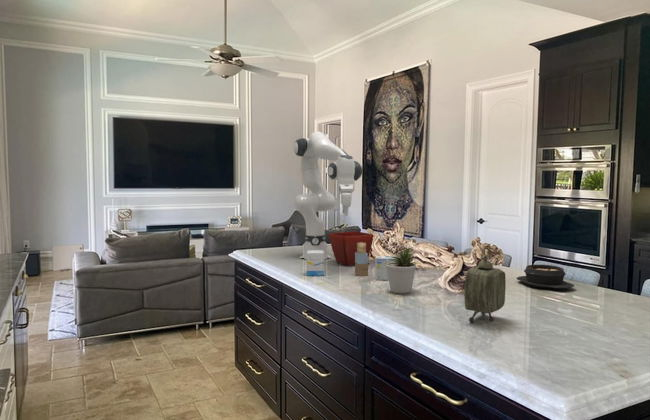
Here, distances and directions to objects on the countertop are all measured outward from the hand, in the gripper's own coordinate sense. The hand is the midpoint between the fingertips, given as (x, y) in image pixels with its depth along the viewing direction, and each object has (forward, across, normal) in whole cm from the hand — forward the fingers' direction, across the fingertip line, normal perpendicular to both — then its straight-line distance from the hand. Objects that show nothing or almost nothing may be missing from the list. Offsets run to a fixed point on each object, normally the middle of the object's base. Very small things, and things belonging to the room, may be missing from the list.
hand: (345, 214), depth 245 cm
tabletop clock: (+26, +86, +43) cm, 99 cm away
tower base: (+29, +10, +8) cm, 32 cm away
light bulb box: (+29, +20, +19) cm, 40 cm away
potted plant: (+28, +45, +22) cm, 57 cm away
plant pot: (+31, -21, +5) cm, 38 cm away
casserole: (+27, +37, +87) cm, 98 cm away
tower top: (+23, +10, +8) cm, 26 cm away
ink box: (+30, +8, -15) cm, 34 cm away
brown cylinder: (+18, +9, +8) cm, 22 cm away
